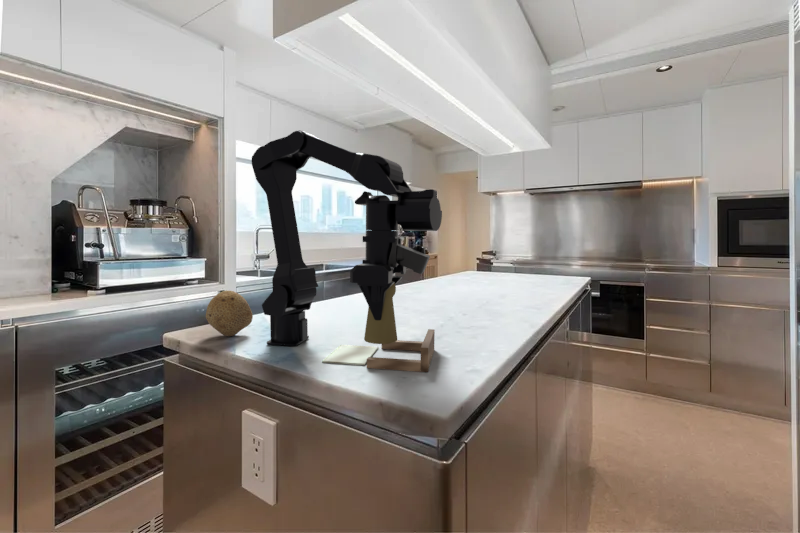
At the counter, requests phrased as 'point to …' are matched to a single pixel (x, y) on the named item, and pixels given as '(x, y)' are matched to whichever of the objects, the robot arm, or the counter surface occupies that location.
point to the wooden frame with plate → (364, 355)
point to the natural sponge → (228, 313)
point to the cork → (382, 322)
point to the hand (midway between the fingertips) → (380, 317)
